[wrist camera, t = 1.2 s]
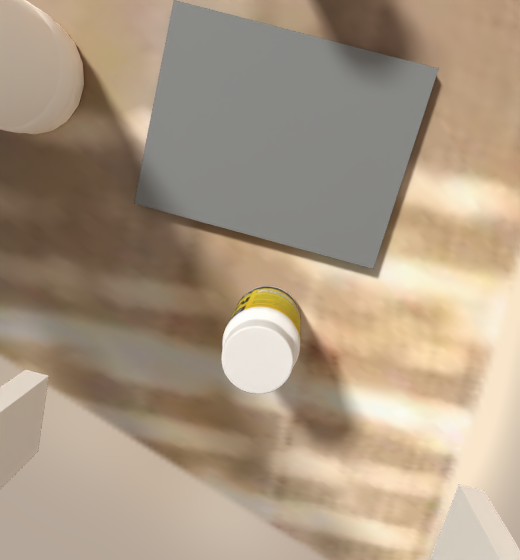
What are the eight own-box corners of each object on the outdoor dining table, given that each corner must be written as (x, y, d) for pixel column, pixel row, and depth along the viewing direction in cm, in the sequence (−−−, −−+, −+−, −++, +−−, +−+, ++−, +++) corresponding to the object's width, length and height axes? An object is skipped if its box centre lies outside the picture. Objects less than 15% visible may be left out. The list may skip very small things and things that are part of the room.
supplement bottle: (245, 276, 32) (227, 307, 24) (308, 295, 32) (312, 332, 24) (228, 337, 33) (204, 386, 25) (289, 355, 33) (286, 411, 25)
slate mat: (138, 203, 31) (134, 203, 31) (177, 5, 29) (173, 0, 28) (371, 266, 31) (373, 268, 30) (434, 71, 28) (438, 68, 27)
